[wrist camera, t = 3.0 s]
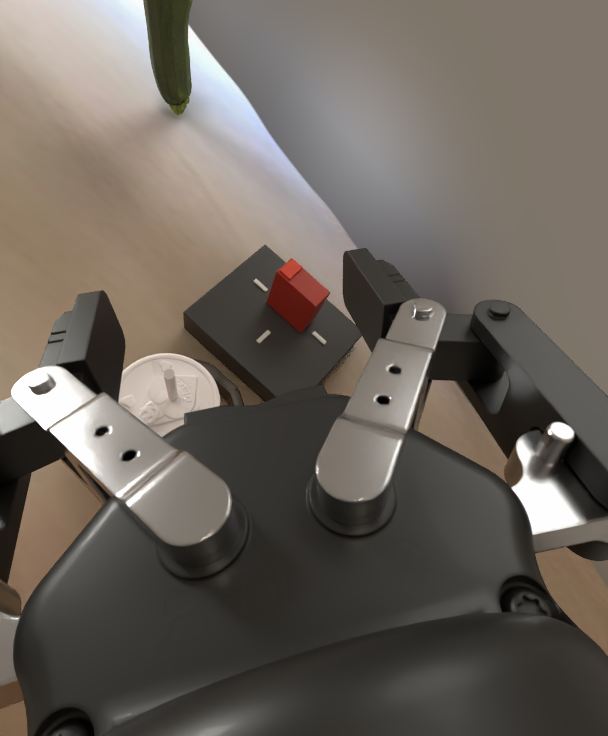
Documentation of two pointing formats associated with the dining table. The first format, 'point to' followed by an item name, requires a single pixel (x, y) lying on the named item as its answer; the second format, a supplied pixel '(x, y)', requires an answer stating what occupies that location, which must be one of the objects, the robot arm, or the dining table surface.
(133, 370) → the smoothie
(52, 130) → the dining table surface
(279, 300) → the knob
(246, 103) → the dining table surface
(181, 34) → the vegetable
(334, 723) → the robot arm
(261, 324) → the panel
